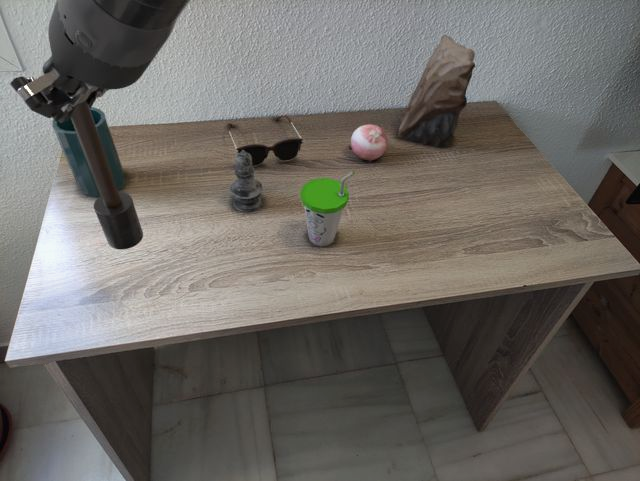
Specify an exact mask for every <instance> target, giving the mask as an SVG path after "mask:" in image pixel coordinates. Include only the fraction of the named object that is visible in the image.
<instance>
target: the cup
mask: <svg viewBox="0 0 640 481" xmlns="http://www.w3.org/2000/svg"><path fill="white" fill-rule="evenodd" d="M354 175H355V172H354V170H353V171H351V172H349V173H348V174H346V175H345V176H343V177H342V178H341V179H340V181H338V180H336V179H333V178H327V177H321V178H313V179H311V180H309V181H307V182H306V183H304V184H303V186H302V188H301V190H300V196H299V197H300V199H301V203H302V205H303V207H304V213H305V219H306V220H305V222H306V228H307V233H308V234H307V235H308V239H309V242H310V243H311V244H312V245H314V246H317V247H320V248H322V247H329V246H330V245H332V244H333V243H334V241H335V239H336V235H337V232H338V228H339V225H340V221H341V218H342V214H343V211H344V208H345V207H346V206H347V205H348V204H347V203H348V202H349V198H350V193H349V191H348V188H347V186H345V182H346V181H347V180H348V179H350V178H351V177H353V176H354Z"/></svg>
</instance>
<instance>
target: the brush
mask: <svg viewBox="0 0 640 481" xmlns="http://www.w3.org/2000/svg"><path fill="white" fill-rule="evenodd" d="M70 117H71V120H72V123H73V125H74V128H75V130H76V133H77V136H78V138H79V141H80V143H81V146H82V148H83V151H84V154H85V156H86V159H87V161H88V164H89V167H90V169H91V172H92V174H93V177H94V180H95V182H96V185H97V187H98V190H99V193H100V195H101V196H100V197H96V199H95V201H94V202H93V210H94V212H95V215H96V217H97V219H98V222H99V224H100V227H101V229H102V231H103V234H104V237H105V238H106V241H107V244H108V245H109V247H111V248H113V249H115V250H119V251H120V250H121V251H122V250H128V249H131V248H134V247H136V246H138V245H139V243H141V242H142V240H143V237H144V231H143V228H142V225H141V222H140V219H139V216H138V212H137V210H136V207H135V203H134V200H133V198H132V196H131V195H130V194H129V193H128V192H126V191H122V190H119V191H118V189H117V186H116V183H115V180H114V177H113V174H112V171H111V169H110V166H109V163H108V160H107V157H106V154H105V151H104V148H103V145H102V143H101V140H100V137H99V134H98V131H97V128H96V125H95V122H94V119H93V117H92V114H91V111H90V108H89V105H88V102H87V100H86V101H85V102H83V103H80V104H78V105H76V106H75V108H74V110H73V112H72V114H71V115H70Z"/></svg>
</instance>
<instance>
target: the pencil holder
mask: <svg viewBox="0 0 640 481" xmlns="http://www.w3.org/2000/svg"><path fill="white" fill-rule="evenodd" d="M90 111H91V114H92V117H93V119H94V122H95V125H96V128H97V131H98V134H99V137H100V140H101V143H102V145H103V148H104V151H105V154H106V157H107V160H108V163H109V166H110V169H111V171H112V174H113V177H114V180H115V183H116V186H117V189H118V191H121V190H122V188H123V187H124V186H125V184H126V176H125V171H124V169H123V166H122V163H121V159H120V156H119V153H118V150H117V148H116V144H115V141H114V137H113V135H112V132H111V129H110V126H109V122H108V119H107V116H106V114H105V112H104V111H102V109H100V108H97V107H94V106H92V107H91V108H90ZM51 122H52V125H51V126H52V129H53V131H54V133H55V136H56V138H57V140H58V143H59V146H60V147H61V150H62V152H63V155H64V157H65V159H66V162H67V164H68V166H69V169H70V171H71V173H72V176H73V178H74V181H75V183H76V185H77V187H78V189H79V191H80V192H81V194H83V195H84V196H87V197H89V198H99V197H100V196H101V195H100V193H99V190H98V187H97V185H96V182H95V180H94V177H93V174H92V172H91V169H90V167H89V164H88V161H87V159H86V156H85V154H84V151H83V148H82V146H81V143H80V141H79V138H78V136H77V133H76V130H75V128H74V125H73V123H72V120H71V117H70V118H69V120H68V121H66V122H64V123H60V122H59V121H58V120H57V121H55V120H54V119H53V120H52V121H51Z"/></svg>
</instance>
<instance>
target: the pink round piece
mask: <svg viewBox="0 0 640 481" xmlns="http://www.w3.org/2000/svg"><path fill="white" fill-rule="evenodd" d="M387 148H388V137H387V134H386V132H385V130H384V129H383V128H381V127H380V126H379V125H376V124H364V125H360V126H358V128H356V129H355V130H354V131H353V133H352V134H351V137H350V145H348V147H347V149H348V150H351V151H352V153H353V154H354V155H355V156H357V157H358V158H359V159H361V160H365V161H367V162H368V163H371V162H372V161H374V160H377V159H379V158H381V157H382V156H383V155H384V154H385V153H386V151H387Z"/></svg>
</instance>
